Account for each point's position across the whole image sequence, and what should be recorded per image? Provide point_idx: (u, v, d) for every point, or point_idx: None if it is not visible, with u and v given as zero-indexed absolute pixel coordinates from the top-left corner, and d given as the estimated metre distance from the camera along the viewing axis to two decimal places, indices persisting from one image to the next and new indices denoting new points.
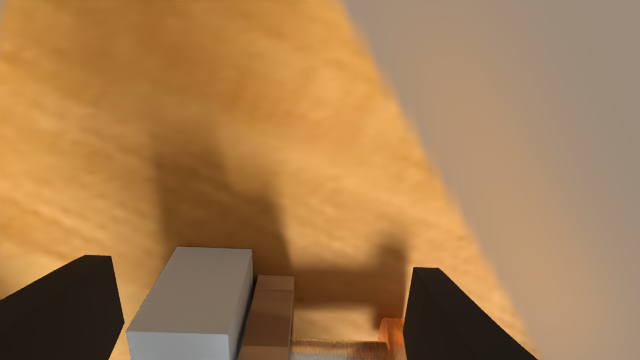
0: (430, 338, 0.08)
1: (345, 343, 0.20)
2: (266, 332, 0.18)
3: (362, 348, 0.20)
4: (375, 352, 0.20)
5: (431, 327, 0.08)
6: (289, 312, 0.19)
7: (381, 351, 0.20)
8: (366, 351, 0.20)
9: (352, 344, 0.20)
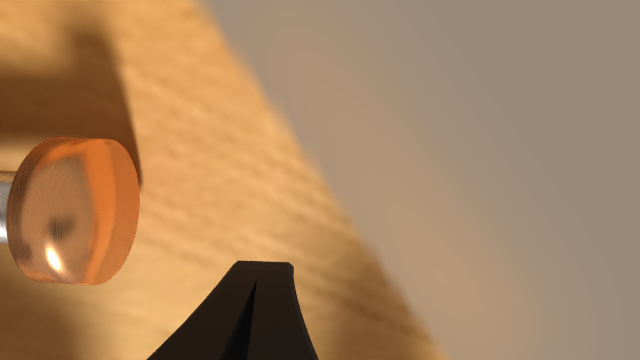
0: None
1: None
2: None
3: (13, 174, 0.12)
4: None
5: None
6: None
7: None
8: (15, 177, 0.12)
9: (4, 171, 0.13)
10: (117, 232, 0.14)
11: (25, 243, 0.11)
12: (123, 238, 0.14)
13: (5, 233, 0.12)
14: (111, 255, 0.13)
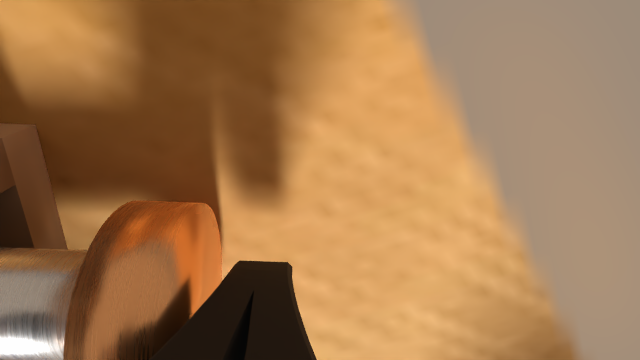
0: None
1: (32, 251, 0.09)
2: None
3: (61, 259, 0.08)
4: None
5: None
6: None
7: None
8: (65, 264, 0.08)
9: (47, 253, 0.09)
10: None
11: None
12: None
13: (52, 354, 0.08)
14: None
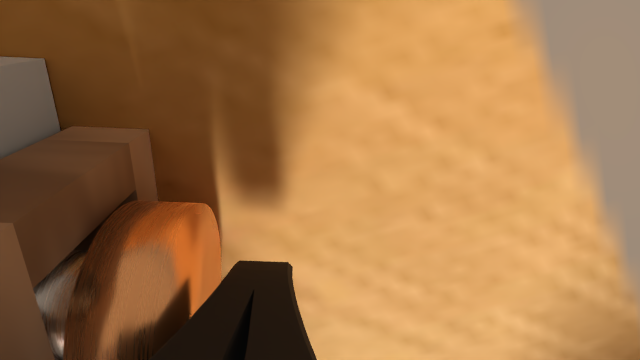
0: None
1: None
2: None
3: None
4: None
5: None
6: (86, 169, 0.08)
7: None
8: (65, 264, 0.08)
9: None
10: None
11: None
12: None
13: None
14: None
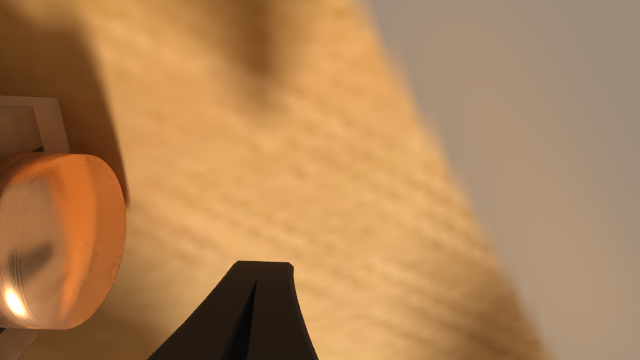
0: None
1: None
2: None
3: None
4: None
5: None
6: None
7: None
8: None
9: None
10: (98, 262, 0.12)
11: None
12: (105, 267, 0.12)
13: None
14: (90, 289, 0.11)
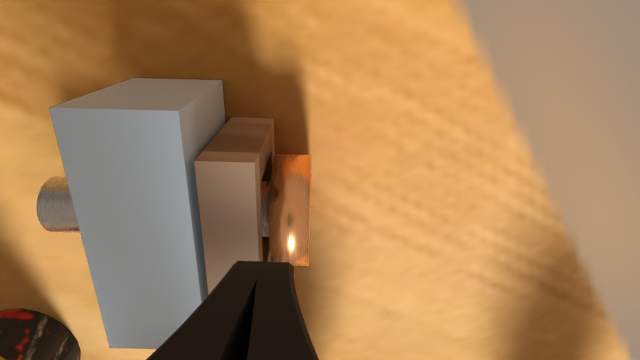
0: None
1: None
2: (234, 144, 0.14)
3: None
4: None
5: None
6: (264, 135, 0.16)
7: (266, 185, 0.16)
8: None
9: None
10: None
11: (280, 233, 0.15)
12: None
13: None
14: None
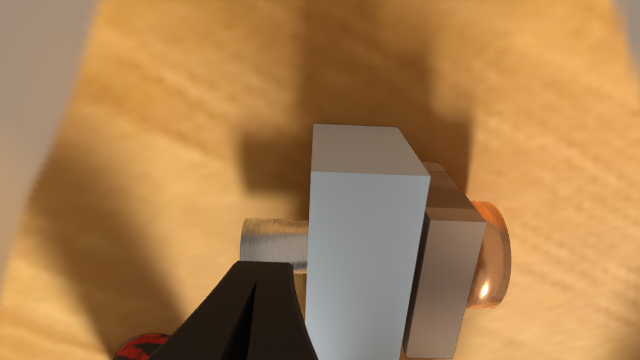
0: None
1: None
2: (443, 198, 0.15)
3: None
4: None
5: None
6: (456, 185, 0.17)
7: None
8: None
9: None
10: None
11: (482, 282, 0.16)
12: None
13: None
14: None
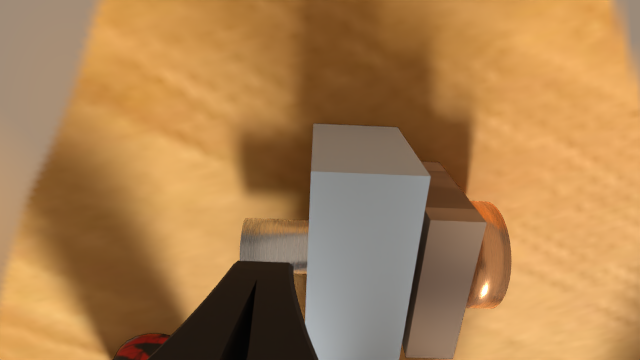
0: None
1: None
2: (443, 198, 0.15)
3: None
4: None
5: None
6: (456, 185, 0.17)
7: None
8: None
9: None
10: None
11: (482, 282, 0.16)
12: None
13: None
14: None
